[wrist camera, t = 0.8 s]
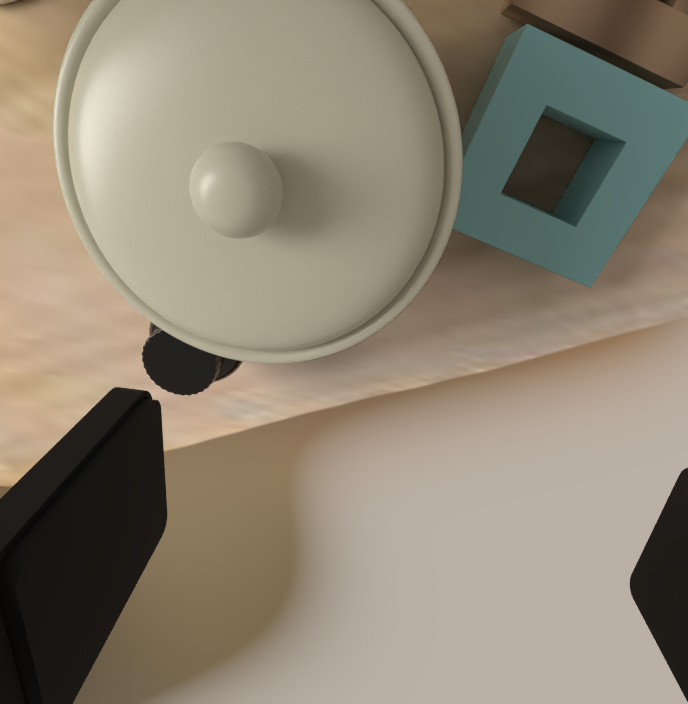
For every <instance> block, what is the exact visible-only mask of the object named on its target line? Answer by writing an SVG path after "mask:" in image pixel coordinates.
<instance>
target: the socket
mask: <svg viewBox="0 0 688 704" xmlns="http://www.w3.org/2000/svg"><path fill="white" fill-rule="evenodd" d="M541 114H542V115H544V116H546V117H548V118H550V119H553V120H555V121H557V122H559V123H561V124H563V125H566V126H568V127H570V128H572V129H574V130H576V131H578V132H581V133H583V134H585V135H587V136H589V137H591V138H594V141H593V143H592V145H591V146H590V148H589V150H588V152H587V153H586V155H585V157H584V159H583V160H582V162H581V164H580V166H579V167H578V169H577V171H576V173H575V174H574V176H573V178H572V180H571V181H570V183H569V185H568V187H567V188H566V190H565V192H564V194H563V195H562V197H561V199H560V201H559V202H558V204H557V206H556V208H555V209H554V211H553V213H552V214H551V213H548V212H546V211H544V210H542V209H539V208H537V207H535V206H533V205H530V204H528V203H526V202H523V201H521V200H519V199H517V198H514V197H512V196H510V195H508V194H505V193H503V192H502V190H503V188H504V186H505V184H506V182H507V180H508V178H509V176H510V174H511V172H512V170H513V169H514V167H515V165H516V163H517V161H518V159H519V157H520V155H521V153H522V151H523V149H524V147H525V145H526V143H527V141H528V140H529V138H530V136H531V134H532V132H533V130H534V128H535V126H536V124H537V122H538V120H539V118H540V116H541ZM461 137H462V151H463V171H462V185H461V193H460V200H459V205H458V210H457V214H456V218H455V222H454V225H453V228H452V229H454V230H456V231H458V232H461V233H463V234H465V235H468V236H470V237H472V238H475V239H477V240H479V241H482V242H484V243H486V244H489V245H491V246H493V247H496V248H498V249H500V250H503V251H505V252H508V253H510V254H512V255H515V256H517V257H519V258H522V259H524V260H526V261H529V262H531V263H533V264H536V265H538V266H540V267H543V268H545V269H547V270H550V271H552V272H554V273H557V274H559V275H562V276H564V277H566V278H569V279H571V280H573V281H576V282H578V283H580V284H583V285H585V286H587V287H590V288H591V286H592V284H593V283H594V281H595V280H596V278H597V277H598V275H599V274H600V272H601V271H602V269H603V267H604V266H605V264H606V263H607V261H608V260H609V258H610V257H611V255H612V254H613V252H614V250H615V249H616V247H617V246H618V244H619V243H620V241H621V240H622V238H623V237H624V235H625V233H626V232H627V230H628V229H629V227H630V226H631V224H632V223H633V221H634V220H635V218H636V216H637V215H638V213H639V212H640V210H641V209H642V207H643V206H644V204H645V203H646V201H647V200H648V198H649V196H650V195H651V193H652V192H653V190H654V189H655V187H656V186H657V184H658V183H659V181H660V179H661V178H662V176H663V175H664V173H665V172H666V170H667V169H668V167H669V166H670V164H671V162H672V161H673V159H674V158H675V156H676V155H677V153H678V152H679V150H680V149H681V147H682V145H683V144H684V142H685V141H686V139H687V138H688V101H686V100H684V99H682V98H680V97H678V96H676V95H674V94H672V93H670V92H667V91H665V90H663V89H661V88H659V87H657V86H655V85H653V84H651V83H649V82H647V81H645V80H643V79H641V78H639V77H636V76H634V75H632V74H630V73H628V72H626V71H624V70H622V69H620V68H618V67H616V66H614V65H612V64H610V63H608V62H605V61H603V60H601V59H599V58H597V57H595V56H593V55H591V54H589V53H587V52H585V51H583V50H581V49H579V48H577V47H574V46H572V45H570V44H568V43H566V42H564V41H562V40H560V39H558V38H556V37H554V36H552V35H550V34H548V33H546V32H543V31H541V30H539V29H537V28H535V27H533V26H531V25H529V24H526V25H524V26H523V27H521V28H519V29H518V30H516V31H515V32H513V33H511V34H510V35H508V36H507V37H506V39H505V41H504V43H503V45H502V47H501V50H500V52H499V54H498V56H497V58H496V60H495V63H494V65H493V67H492V69H491V71H490V73H489V76H488V78H487V80H486V82H485V84H484V86H483V89H482V91H481V93H480V95H479V97H478V99H477V102H476V104H475V106H474V108H473V110H472V112H471V115H470V117H469V119H468V121H467V123H466V125H465V128H464V130H463V132H462V134H461Z"/></svg>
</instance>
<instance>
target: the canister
mask: <svg viewBox="0 0 688 704" xmlns="http://www.w3.org/2000/svg"><path fill="white" fill-rule="evenodd" d="M53 142H54V153H55V161H56V167H57V173H58V177H59V182H60V186H61V190H62V193H63V197H64V200H65V203H66V206H67V209H68V211H69V214H70V217H71V219H72V221H73V224H74V226H75V228H76V230H77V232H78V235H79V237H80V238H81V240H82V242H83V244H84V246H85V248H86V249H87V251H88V253H89V254H90V256H91V258H92V259H93V261H94V262H95V264H96V265H97V267H98V268H99V270H100V271H101V272H102V274H103V275H104V276H105V277H106V279H107V280H108V281H109V282H110V284H111V285H112V286H113V287H114V288H115V289H116V291H117V292H118V293H119V294H120V295H121V296H122V297H123V298H124V299H125V300H126V301H127V302H128V303H129V304H130V305H131V306H132V307H133V308H135V309H136V310H137V311H138V312H139V313H140V314H142V315H143V316H144V317H145V318H147V319H148V320H149V321H151V322H152V323H153V324H155V325H156V326H158V327H159V328H161V329H162V330H164V331H165V332H167V333H168V334H170V335H172V336H174V337H175V338H177V339H179V340H181V341H183V342H185V343H187V344H189V345H191V346H193V347H196V348H198V349H201V350H203V351H206V352H209V353H212V354H215V355H218V356H221V357H225V358H229V359H234V360H239V361H245V362H252V363H264V364H284V363H296V362H303V361H309V360H314V359H318V358H322V357H325V356H329V355H332V354H335V353H338V352H340V351H343V350H345V349H348V348H350V347H352V346H354V345H356V344H358V343H360V342H362V341H364V340H365V339H367V338H369V337H370V336H372V335H374V334H375V333H377V332H378V331H379V330H381V329H382V328H384V327H385V326H386V325H387V324H389V323H390V322H391V321H392V320H394V319H395V318H396V317H397V316H398V315H399V314H400V313H401V312H402V311H403V310H404V309H405V308H406V307H407V306H408V305H409V304H410V303H411V302H412V301H413V299H414V298H415V297H416V296H417V295H418V293H419V292H420V291H421V289H422V288H423V287H424V285H425V284H426V282H427V281H428V279H429V278H430V276H431V275H432V273H433V271H434V270H435V268H436V266H437V264H438V262H439V260H440V258H441V256H442V254H443V252H444V250H445V248H446V245H447V243H448V240H449V237H450V235H451V232H452V228H453V225H454V222H455V218H456V214H457V210H458V205H459V200H460V193H461V185H462V171H463V151H462V137H461V128H460V122H459V116H458V111H457V107H456V102H455V99H454V95H453V91H452V88H451V85H450V82H449V79H448V77H447V74H446V71H445V69H444V66H443V64H442V62H441V60H440V57H439V55H438V53H437V51H436V49H435V47H434V45H433V44H432V42H431V40H430V38H429V37H428V35H427V33H426V32H425V30H424V28H423V27H422V25H421V24H420V22H419V21H418V20H417V18H416V17H415V15H414V14H413V13H412V11H411V10H410V9H409V8H408V6H407V5H406V4H405V3H404V2H403V0H92V1H91V3H90V4H89V6H88V7H87V9H86V10H85V12H84V14H83V15H82V17H81V19H80V20H79V22H78V24H77V26H76V28H75V30H74V32H73V34H72V37H71V39H70V41H69V44H68V46H67V49H66V52H65V55H64V58H63V61H62V64H61V68H60V72H59V76H58V81H57V86H56V92H55V100H54V111H53Z"/></svg>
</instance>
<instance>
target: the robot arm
mask: <svg viewBox="0 0 688 704" xmlns="http://www.w3.org/2000/svg"><path fill="white" fill-rule="evenodd" d="M14 1H17V0H0V4H6V3H10V2H14ZM166 522H167V502H166V485H165V469H164V451H163V434H162V417H161V405H160V403H159V401H157V400H152V397H151V394H150V393H149V392H148V391H143V390H135V389H127V388H120V387H116V388H113V389H112V390H111V391H110V392H109V393H108V394H107V395H106V396H105V397H103V398H102V399H101V400H100V401H99V402H98V403H97V404H96V405H95V406H94V407H93V408H92V409H91V410H90V411H89V412H88V413H87V414H86V415H85V416H84V417H83V418H82V419H81V420H80V421H79V422H78V423H77V424H76V425H75V426H74V427H73V428H72V429H71V430H70V431H69V432H68V433H67V434H66V435H65V436H64V437H63V438H62V439H61V440H60V441H59V442H58V443H57V444H56V445H55V446H54V447H53V448H52V449H51V450H50V451H49V452H48V453H47V454H45V455H44V456H43V457H42V458H41V459H40V460H39V461H38V462H37V463H36V464H35V465H34V466H33V467H32V468H31V469H30V470H29V471H28V472H27V473H26V474H25V475H24V476H23V477H22V478H21V479H20V480H19V481H18V482H17V483H16V484H15V485H14V486H13V487H12V488H11V489H10V490H9V491H8V492H7V493H6V494H5V495H4V496H3V497H2V498H1V499H0V704H73V702H74V700H75V698H76V696H77V694H78V692H79V691H80V689H81V687H82V685H83V683H84V681H85V679H86V677H87V676H88V674H89V672H90V670H91V668H92V666H93V664H94V662H95V661H96V659H97V657H98V655H99V653H100V651H101V649H102V648H103V646H104V644H105V642H106V640H107V638H108V636H109V634H110V633H111V631H112V629H113V627H114V625H115V623H116V621H117V619H118V618H119V616H120V614H121V612H122V610H123V608H124V606H125V604H126V602H127V601H128V599H129V597H130V595H131V593H132V591H133V590H134V588H135V586H136V584H137V582H138V580H139V578H140V576H141V575H142V573H143V571H144V569H145V567H146V565H147V563H148V561H149V559H150V558H151V556H152V554H153V552H154V550H155V548H156V546H157V545H158V543H159V541H160V539H161V537H162V535H163V533H164V530H165V526H166ZM630 589H631V594H632V596H633V599H634V601H635V603H636V605H637V607H638V609H639V610H640V612H641V614H642V616H643V618H644V620H645V622H646V624H647V626H648V628H649V629H650V631H651V633H652V635H653V637H654V639H655V641H656V643H657V645H658V646H659V648H660V650H661V652H662V654H663V656H664V658H665V660H666V661H667V664H668V665H669V667H670V669H671V671H672V673H673V675H674V677H675V679H676V681H677V683H678V684H679V686H680V688H681V690H682V692H683V694H684V696H685V698H686V700H687V701H688V468H686V469H684V470H683V471H682V472H681V474H680V475H679V477H678V479H677V481H676V483H675V486H674V487H673V489H672V492H671V494H670V496H669V498H668V500H667V502H666V504H665V506H664V508H663V510H662V512H661V515H660V517H659V519H658V521H657V523H656V525H655V527H654V529H653V531H652V533H651V535H650V537H649V539H648V542H647V544H646V546H645V548H644V550H643V552H642V554H641V556H640V558H639V560H638V562H637V564H636V566H635V568H634V571H633V573H632V575H631V578H630Z"/></svg>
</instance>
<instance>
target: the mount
mask: <svg viewBox="0 0 688 704" xmlns="http://www.w3.org/2000/svg"><path fill="white" fill-rule="evenodd" d="M501 14H503V15H505V16H507V17H510V18H512V19H514V20H516V21H518V22H520V23H522V24H524V25H526V24H529V25H531V26H533V27H535V28H537V29H539V30H541V31H543V32H546V33H548V34H550V35H552V36H554V37H556V38H558V39H560V40H562V41H564V42H566V43H568V44H570V45H572V46H574V47H577V48H579V49H581V50H583V51H585V52H587V53H589V54H591V55H593V56H595V57H597V58H599V59H601V60H603V61H605V62H608V63H610V64H612V65H614V66H616V67H618V68H620V69H622V70H624V71H626V72H628V73H630V74H632V75H634V76H636V77H639V78H641V79H643V80H645V81H647V82H649V83H651V84H653V85H655V86H657V87H659V88H661V89H671V88H681V87H684V86H685V84H686V82H687V81H688V0H506V2H505V4H504V7H503V9H502V11H501Z"/></svg>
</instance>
